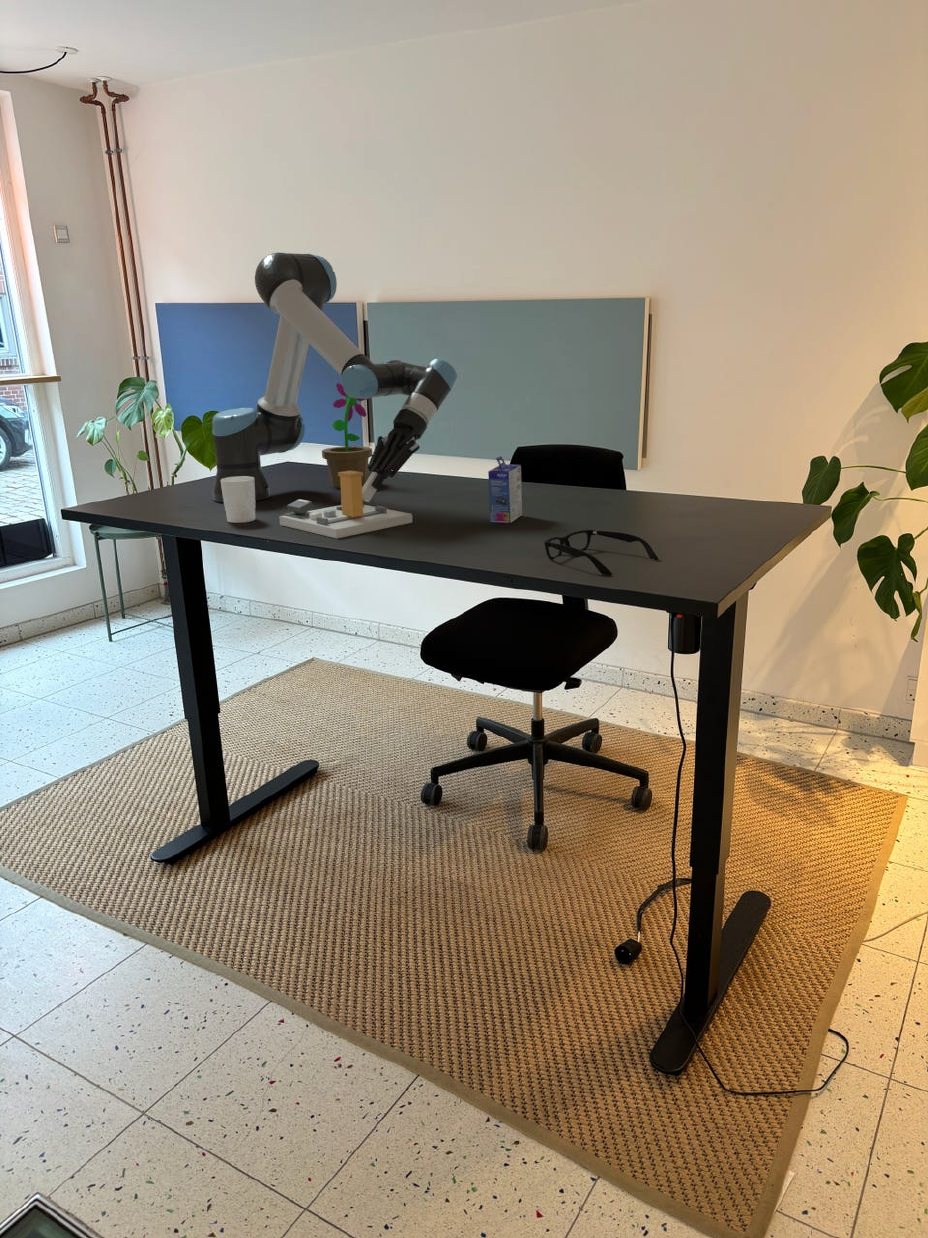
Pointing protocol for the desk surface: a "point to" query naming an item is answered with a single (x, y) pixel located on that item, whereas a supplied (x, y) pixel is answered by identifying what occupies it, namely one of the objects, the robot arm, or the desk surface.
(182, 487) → the desk surface
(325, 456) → the flowerpot
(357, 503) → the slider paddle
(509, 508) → the ink cartridge box
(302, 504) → the rocker
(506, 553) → the desk surface
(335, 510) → the console
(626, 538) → the glasses
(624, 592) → the desk surface
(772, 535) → the desk surface
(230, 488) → the white cup
